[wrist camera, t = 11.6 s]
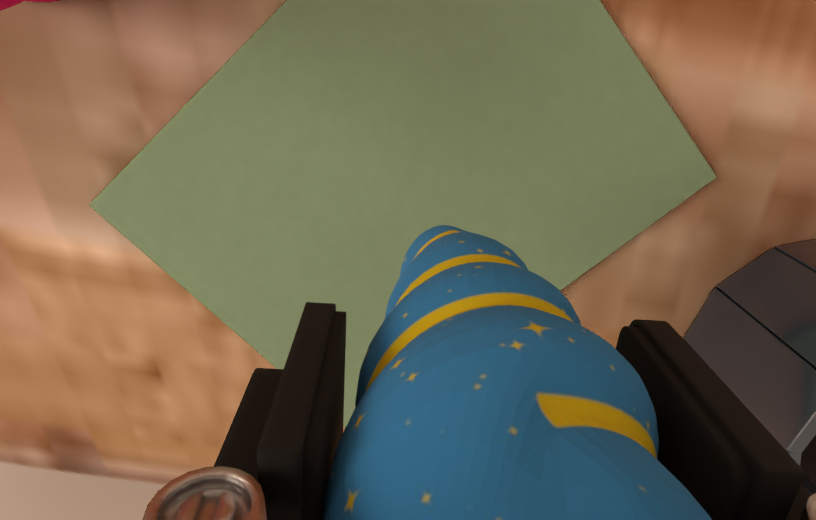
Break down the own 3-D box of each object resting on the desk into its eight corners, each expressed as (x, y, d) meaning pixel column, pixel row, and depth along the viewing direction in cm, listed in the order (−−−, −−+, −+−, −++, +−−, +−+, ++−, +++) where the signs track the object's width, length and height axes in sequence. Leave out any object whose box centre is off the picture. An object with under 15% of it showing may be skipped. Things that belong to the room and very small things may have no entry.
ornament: (553, 252, 18) (1061, 975, 4) (427, 336, 19) (508, 1122, 5) (463, 126, 16) (820, 634, 3) (331, 224, 18) (96, 948, 4)
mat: (471, -189, 18) (472, -194, 18) (712, 174, 23) (717, 177, 22) (93, 202, 23) (88, 205, 22) (357, 433, 28) (357, 438, 27)
